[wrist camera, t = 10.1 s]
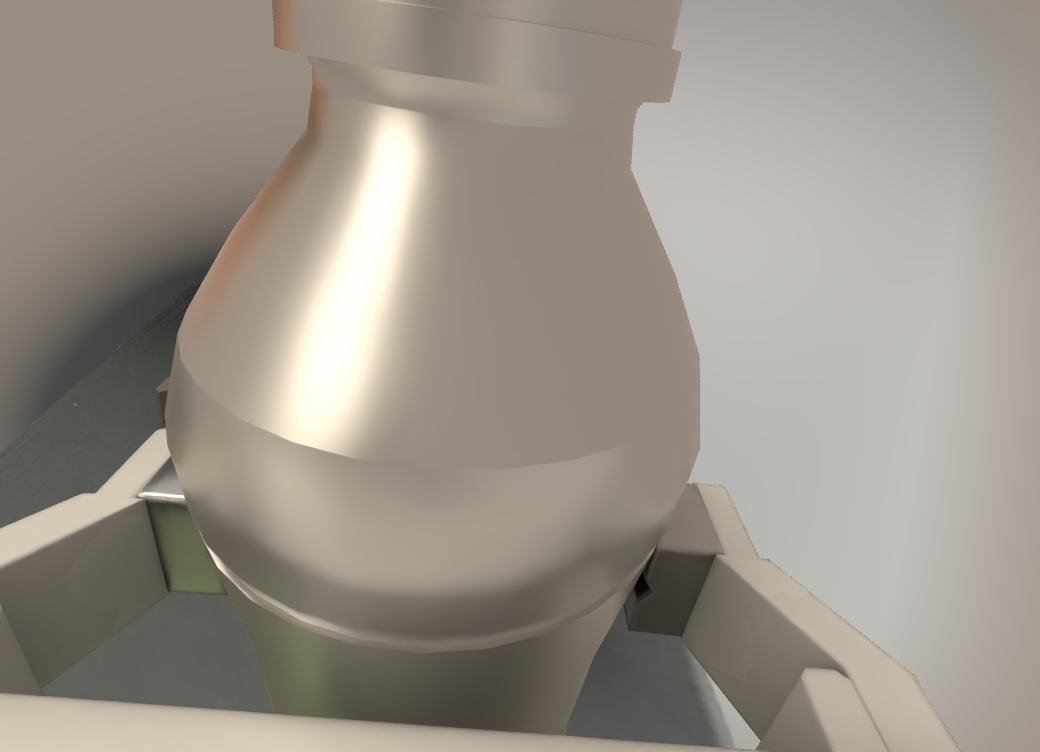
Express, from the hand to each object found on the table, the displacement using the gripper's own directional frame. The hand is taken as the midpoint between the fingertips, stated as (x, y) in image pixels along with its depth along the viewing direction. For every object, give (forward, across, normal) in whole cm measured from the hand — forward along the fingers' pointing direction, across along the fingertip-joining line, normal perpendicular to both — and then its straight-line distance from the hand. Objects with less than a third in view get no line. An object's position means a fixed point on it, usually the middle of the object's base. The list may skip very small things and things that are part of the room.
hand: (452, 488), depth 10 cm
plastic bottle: (-1, 0, -12) cm, 12 cm away
